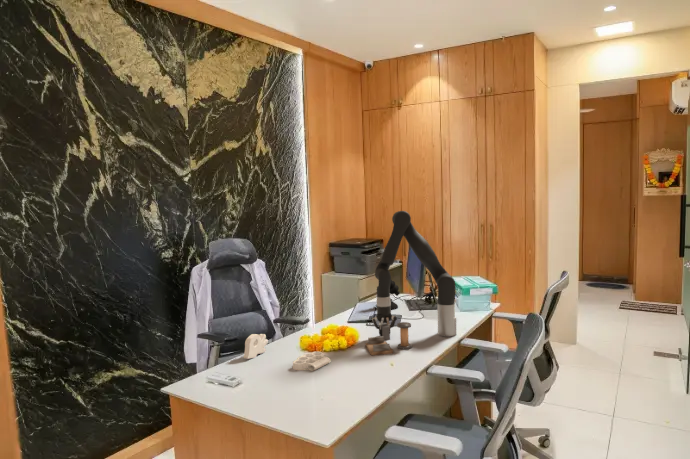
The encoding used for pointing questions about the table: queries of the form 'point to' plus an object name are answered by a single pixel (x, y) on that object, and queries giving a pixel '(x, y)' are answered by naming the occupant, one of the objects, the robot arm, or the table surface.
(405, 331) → the bobbin
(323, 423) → the table surface
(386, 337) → the grey brown rectangular block
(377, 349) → the terminal board
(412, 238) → the robot arm
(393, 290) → the sculpture
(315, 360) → the beige block with wells
